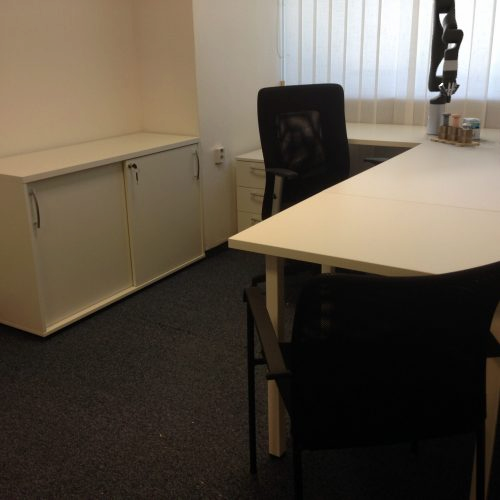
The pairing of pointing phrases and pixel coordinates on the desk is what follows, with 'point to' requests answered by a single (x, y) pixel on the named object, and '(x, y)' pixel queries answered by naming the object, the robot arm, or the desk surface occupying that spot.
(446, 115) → the peg
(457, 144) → the socket board
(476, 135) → the light bulb box
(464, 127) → the plug grey
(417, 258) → the desk surface
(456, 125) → the plug terracotta
